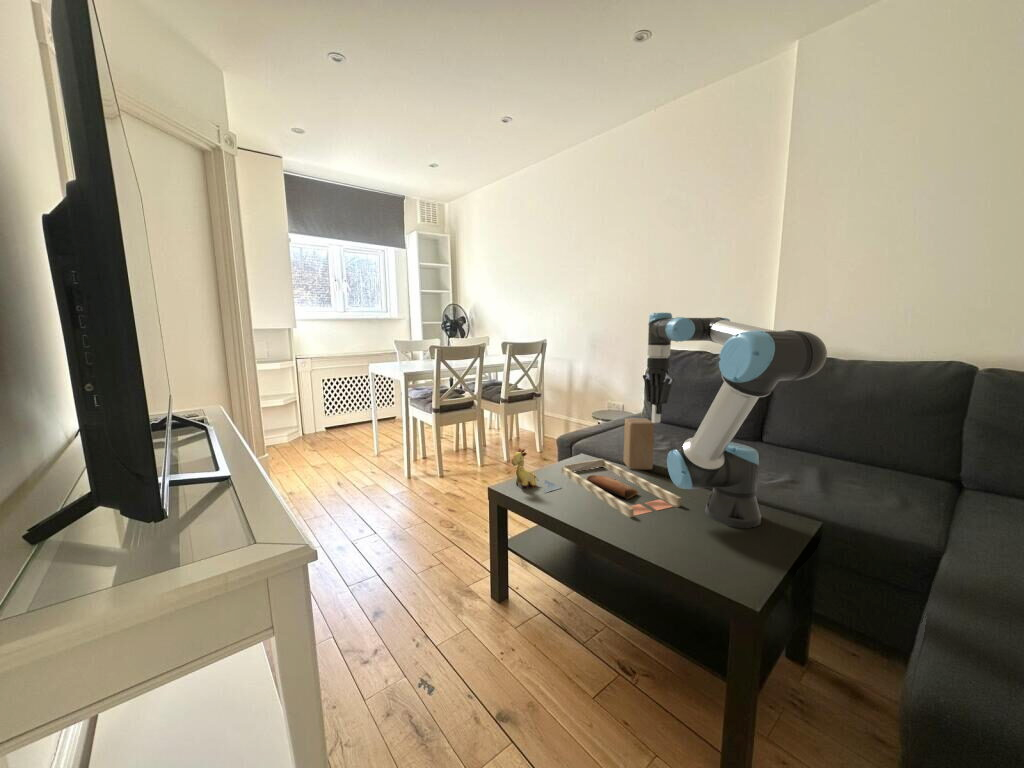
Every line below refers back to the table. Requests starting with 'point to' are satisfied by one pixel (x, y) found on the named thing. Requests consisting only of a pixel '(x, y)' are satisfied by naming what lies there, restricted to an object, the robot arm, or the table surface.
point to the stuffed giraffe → (527, 474)
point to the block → (638, 443)
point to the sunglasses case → (612, 486)
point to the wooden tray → (640, 482)
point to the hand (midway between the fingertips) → (655, 422)
